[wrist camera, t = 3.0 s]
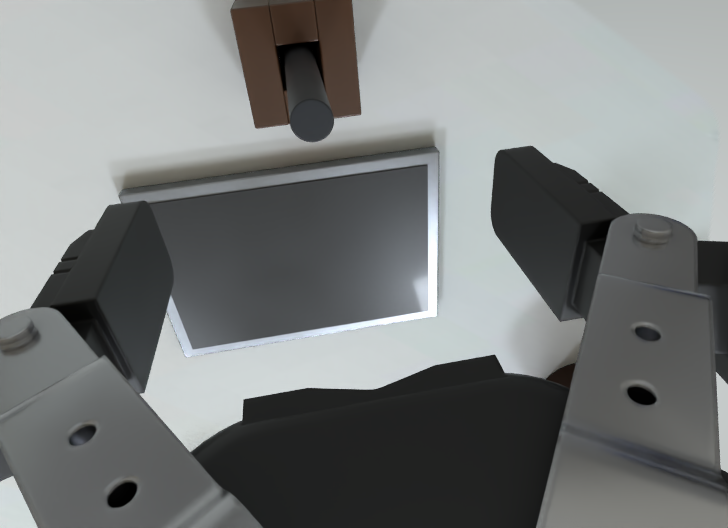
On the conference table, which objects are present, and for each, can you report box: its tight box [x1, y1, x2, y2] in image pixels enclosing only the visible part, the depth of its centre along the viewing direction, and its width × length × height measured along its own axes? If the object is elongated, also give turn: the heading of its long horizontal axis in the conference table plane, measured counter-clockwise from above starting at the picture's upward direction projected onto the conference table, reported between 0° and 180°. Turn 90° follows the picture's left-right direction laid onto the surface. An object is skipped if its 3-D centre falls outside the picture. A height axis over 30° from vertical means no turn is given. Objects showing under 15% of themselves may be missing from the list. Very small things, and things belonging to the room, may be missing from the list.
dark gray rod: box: [283, 42, 334, 142], centre depth 22 cm, size 2×2×13 cm
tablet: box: [119, 147, 439, 357], centre depth 35 cm, size 20×14×1 cm
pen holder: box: [230, 0, 361, 129], centre depth 25 cm, size 5×5×5 cm
